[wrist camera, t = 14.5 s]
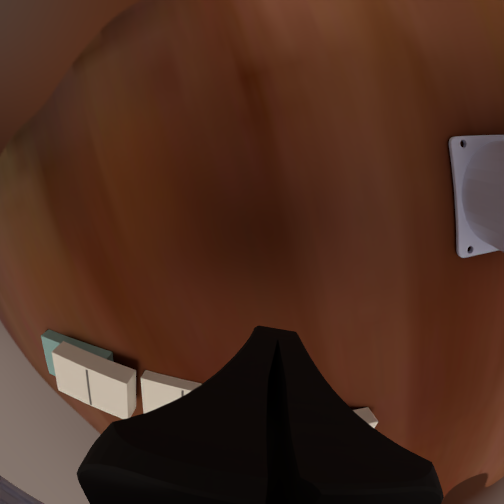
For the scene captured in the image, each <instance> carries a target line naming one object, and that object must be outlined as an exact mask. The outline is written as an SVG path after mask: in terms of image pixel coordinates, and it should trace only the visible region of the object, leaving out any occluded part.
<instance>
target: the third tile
mask: <svg viewBox="0 0 504 504" xmlns="http://www.w3.org/2000/svg"><path fill="white" fill-rule="evenodd" d="M200 385H201V383H197V382H192V381H188V380H183V379H179V378H175V377H171V376H167V375H163V374H159V373H155V372H151V371H147V370H145V372H144V373H143V375H142V376H141V389H142V400H143V411H144V413H147V412H150V411H152V410H154V409H157V408H159V407H161V406H163V405H166V404H168V403H170V402H172V401H174V400H176V399H178V398H180V397H182V396H184V395H186V394H187V393H189V392H191V391H192V390H194V389H195V388H197V387H198V386H200Z"/></svg>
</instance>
